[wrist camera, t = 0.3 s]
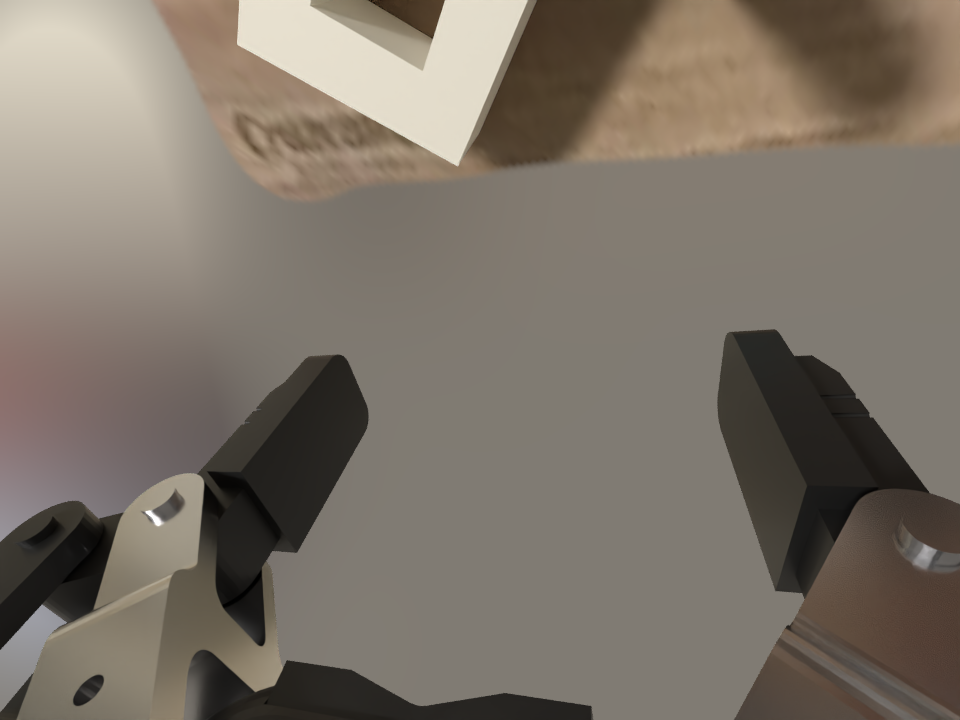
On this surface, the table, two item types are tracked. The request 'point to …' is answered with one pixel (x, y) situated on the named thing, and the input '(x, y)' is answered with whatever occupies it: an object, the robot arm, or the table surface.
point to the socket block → (395, 61)
